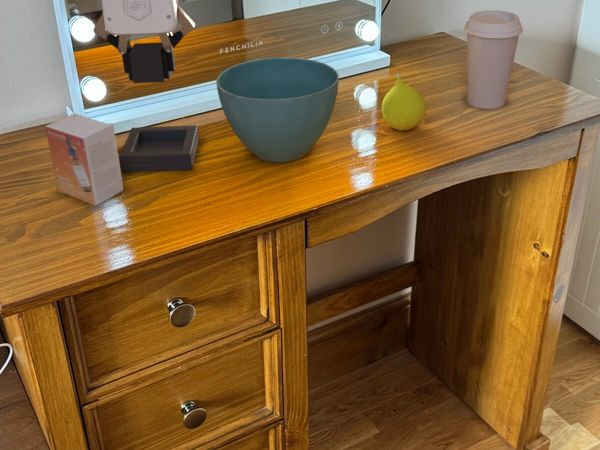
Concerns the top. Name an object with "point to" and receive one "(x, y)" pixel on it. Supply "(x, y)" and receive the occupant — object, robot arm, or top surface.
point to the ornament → (403, 106)
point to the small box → (85, 158)
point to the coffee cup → (490, 56)
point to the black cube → (147, 62)
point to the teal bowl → (278, 104)
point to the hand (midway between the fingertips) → (151, 75)
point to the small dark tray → (160, 149)
